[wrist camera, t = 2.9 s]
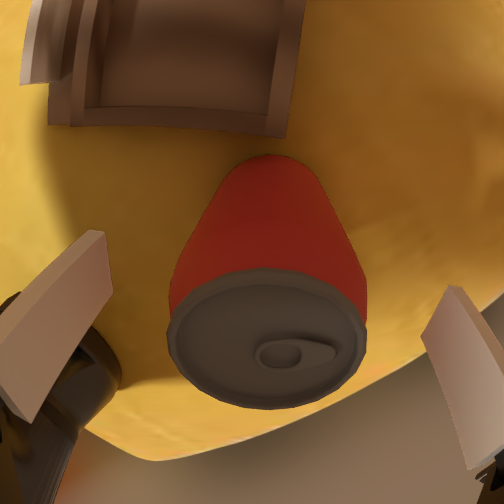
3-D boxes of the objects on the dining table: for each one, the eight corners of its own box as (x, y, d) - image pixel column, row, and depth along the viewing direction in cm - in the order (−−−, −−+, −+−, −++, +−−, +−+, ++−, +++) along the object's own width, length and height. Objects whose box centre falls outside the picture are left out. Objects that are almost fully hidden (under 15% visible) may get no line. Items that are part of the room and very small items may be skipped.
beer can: (322, 251, 20) (361, 413, 9) (223, 254, 20) (178, 413, 10) (325, 151, 16) (410, 249, 6) (212, 156, 17) (117, 256, 6)
